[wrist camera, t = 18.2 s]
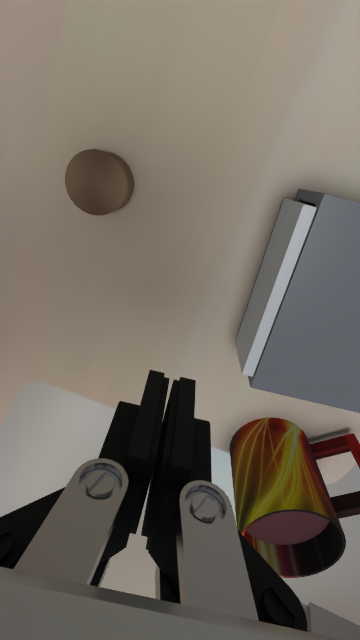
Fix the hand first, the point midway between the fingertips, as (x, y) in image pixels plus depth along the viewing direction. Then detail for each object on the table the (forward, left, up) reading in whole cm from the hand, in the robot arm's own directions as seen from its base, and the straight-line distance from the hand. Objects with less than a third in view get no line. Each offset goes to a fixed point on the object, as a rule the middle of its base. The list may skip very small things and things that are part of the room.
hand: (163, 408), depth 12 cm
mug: (+16, -19, -23) cm, 34 cm away
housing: (+15, 0, -23) cm, 28 cm away
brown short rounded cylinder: (-9, +5, -23) cm, 25 cm away
